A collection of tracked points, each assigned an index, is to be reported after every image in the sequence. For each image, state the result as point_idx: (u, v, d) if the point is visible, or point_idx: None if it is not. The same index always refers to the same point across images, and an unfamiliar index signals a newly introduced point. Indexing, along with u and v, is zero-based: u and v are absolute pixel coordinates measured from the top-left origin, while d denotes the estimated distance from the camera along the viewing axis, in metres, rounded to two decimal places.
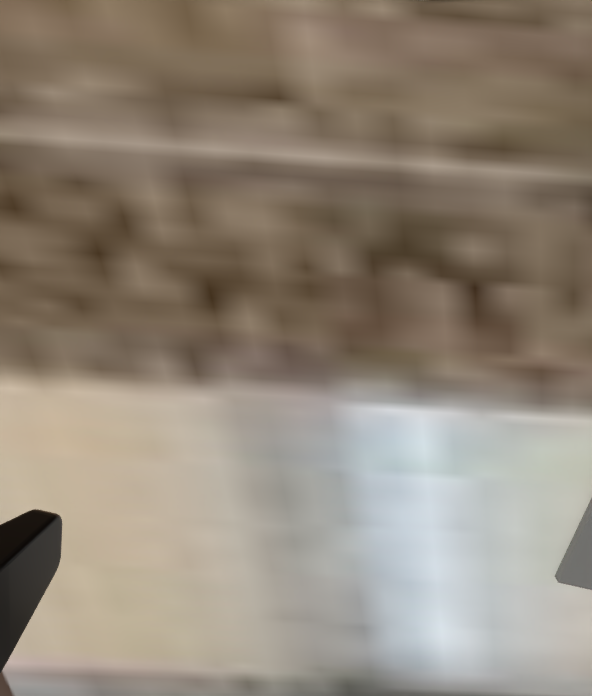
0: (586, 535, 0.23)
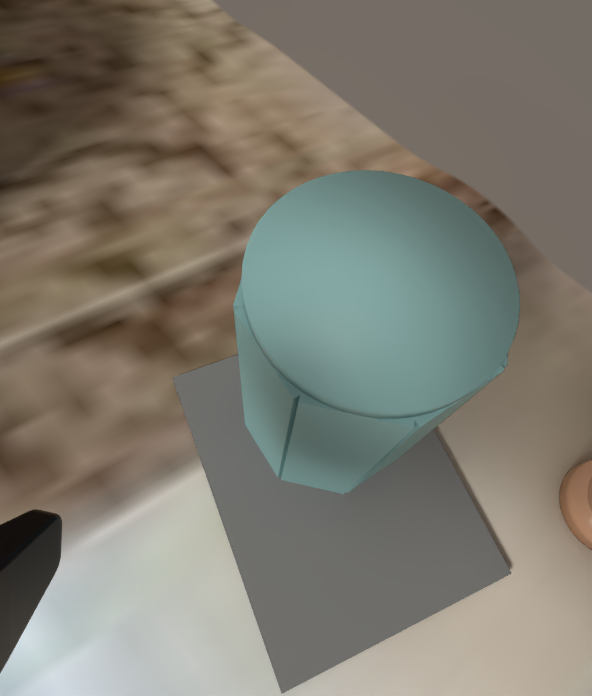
0: (258, 605, 0.19)
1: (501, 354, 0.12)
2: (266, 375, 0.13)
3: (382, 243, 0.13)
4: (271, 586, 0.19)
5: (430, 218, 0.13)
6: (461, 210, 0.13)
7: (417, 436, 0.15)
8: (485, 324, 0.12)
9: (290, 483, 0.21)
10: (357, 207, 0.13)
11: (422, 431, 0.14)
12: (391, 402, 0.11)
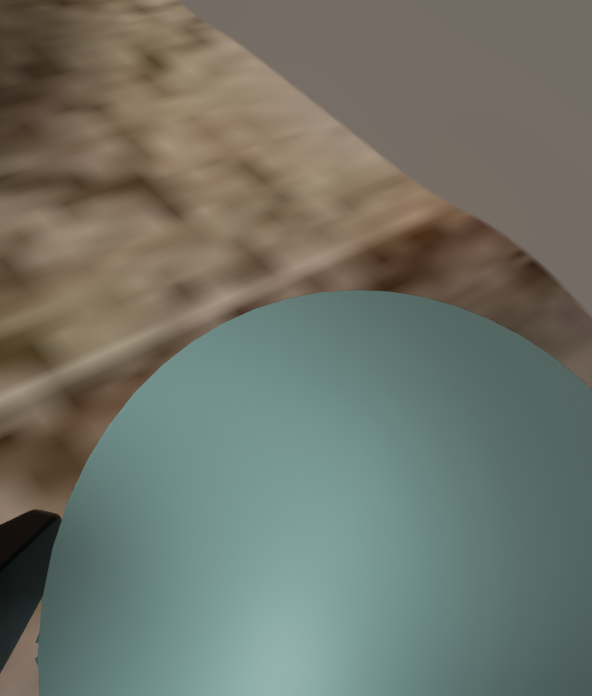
0: None
1: None
2: None
3: (390, 478, 0.06)
4: None
5: (494, 405, 0.06)
6: (558, 382, 0.06)
7: None
8: None
9: None
10: (334, 382, 0.06)
11: None
12: None
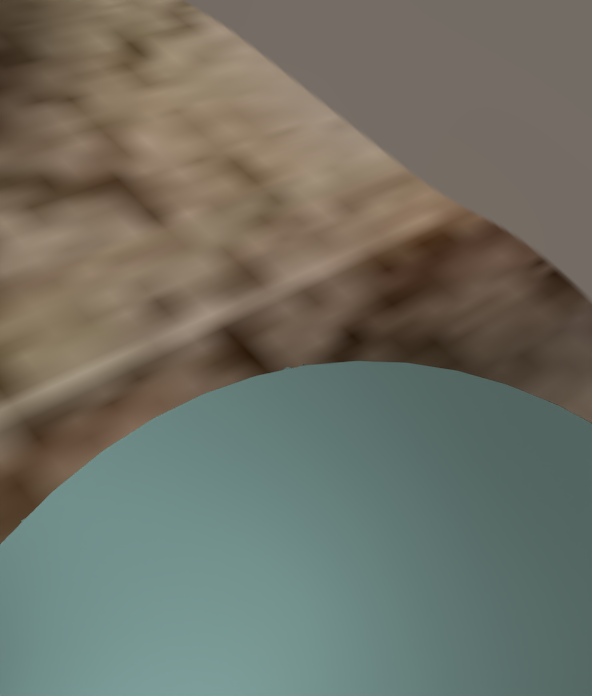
0: None
1: None
2: None
3: (414, 693, 0.03)
4: None
5: (575, 554, 0.04)
6: None
7: None
8: None
9: None
10: (324, 518, 0.04)
11: None
12: None
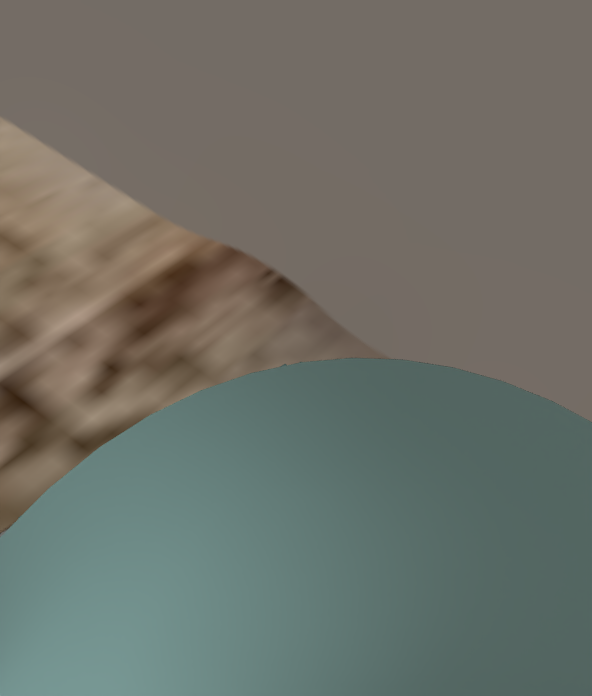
0: None
1: None
2: None
3: (410, 687, 0.03)
4: None
5: (571, 549, 0.04)
6: None
7: None
8: None
9: None
10: (320, 513, 0.04)
11: None
12: None
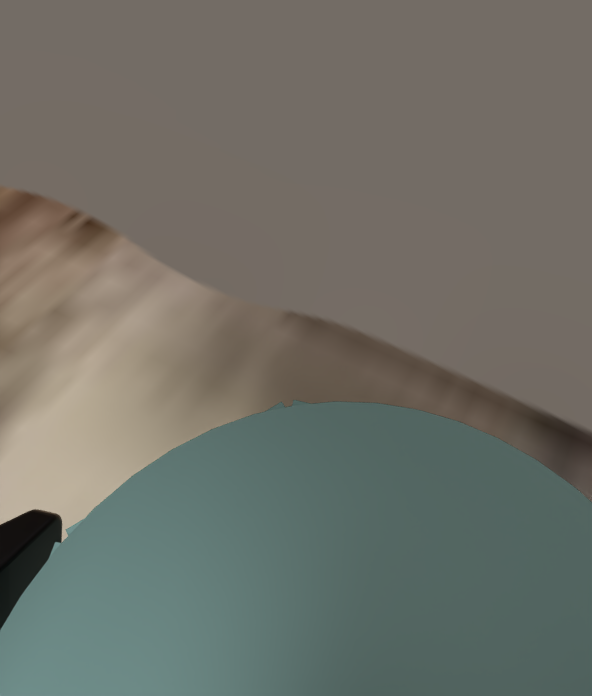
0: None
1: None
2: None
3: (373, 665, 0.04)
4: None
5: (505, 559, 0.05)
6: (583, 523, 0.05)
7: None
8: None
9: None
10: (307, 529, 0.05)
11: None
12: None
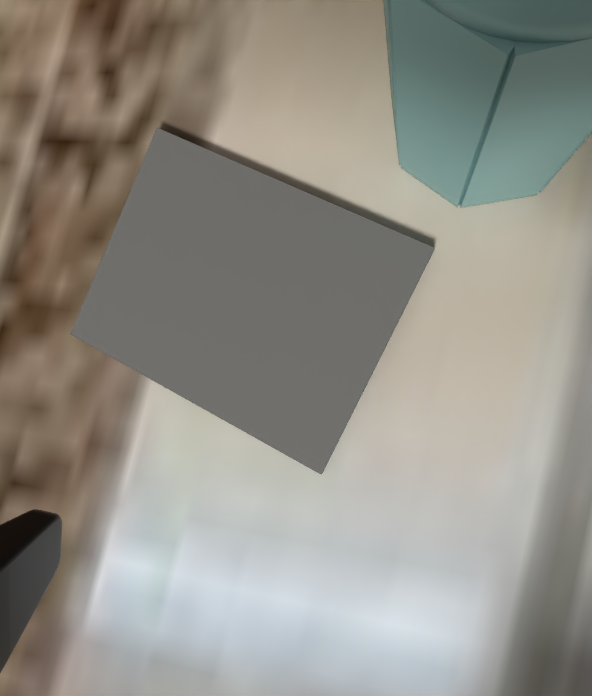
0: (261, 434, 0.21)
1: None
2: (451, 54, 0.10)
3: None
4: (260, 415, 0.21)
5: None
6: None
7: None
8: None
9: (215, 333, 0.21)
10: None
11: None
12: None
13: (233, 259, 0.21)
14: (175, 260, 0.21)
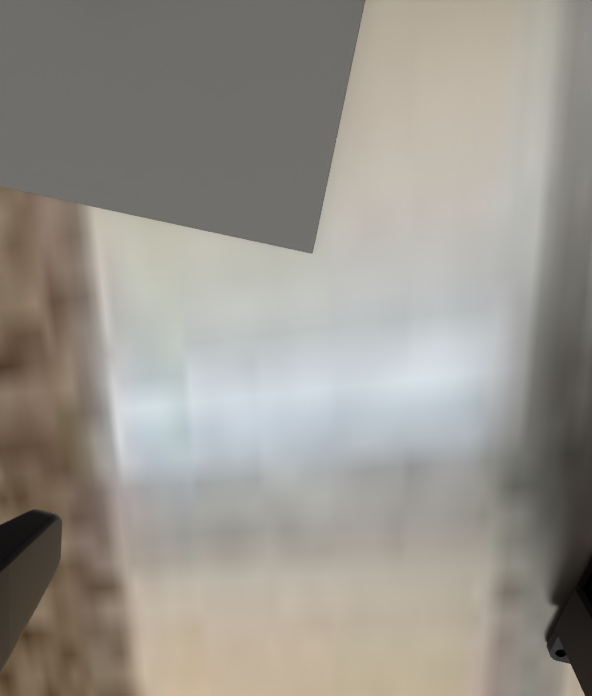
0: (236, 230, 0.18)
1: None
2: None
3: None
4: (227, 208, 0.18)
5: None
6: None
7: None
8: None
9: (145, 126, 0.17)
10: None
11: None
12: None
13: (136, 21, 0.16)
14: (64, 44, 0.17)
